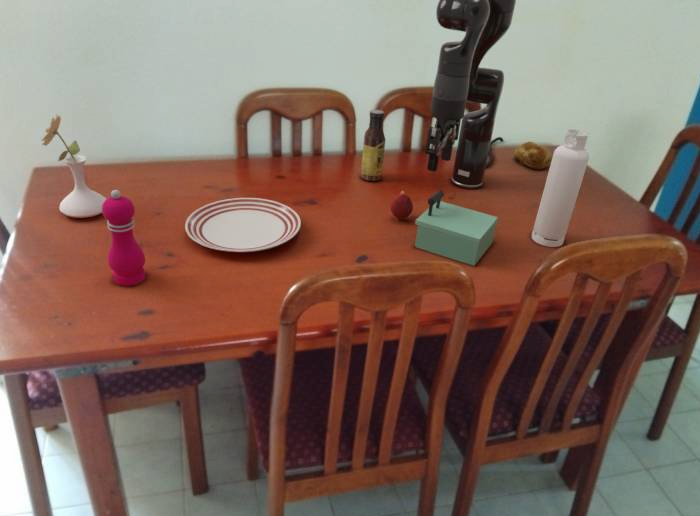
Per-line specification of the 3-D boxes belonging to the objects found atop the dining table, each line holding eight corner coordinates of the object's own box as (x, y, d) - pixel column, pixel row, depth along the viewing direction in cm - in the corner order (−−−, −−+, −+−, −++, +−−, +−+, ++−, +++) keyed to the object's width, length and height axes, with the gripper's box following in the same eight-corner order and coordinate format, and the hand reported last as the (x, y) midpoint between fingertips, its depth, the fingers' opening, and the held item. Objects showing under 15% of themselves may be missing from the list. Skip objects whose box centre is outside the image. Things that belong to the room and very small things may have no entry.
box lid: (414, 224, 143) (418, 202, 140) (436, 204, 153) (440, 183, 150) (479, 243, 137) (483, 221, 134) (497, 221, 147) (502, 200, 144)
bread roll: (506, 158, 202) (511, 135, 197) (528, 155, 206) (533, 132, 201) (532, 173, 192) (538, 149, 188) (554, 169, 197) (561, 145, 192)
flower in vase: (82, 198, 155) (62, 101, 141) (119, 207, 153) (103, 109, 139) (45, 219, 145) (20, 116, 131) (84, 229, 142) (63, 125, 128)
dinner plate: (204, 271, 130) (203, 258, 129) (173, 217, 150) (172, 205, 148) (319, 249, 142) (319, 237, 140) (276, 202, 162) (276, 190, 160)
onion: (414, 218, 159) (418, 190, 155) (406, 226, 155) (410, 198, 150) (393, 212, 161) (397, 185, 157) (385, 221, 157) (388, 192, 152)
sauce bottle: (379, 183, 177) (386, 116, 166) (358, 180, 178) (364, 113, 166) (382, 175, 182) (389, 109, 171) (362, 172, 183) (368, 107, 172)
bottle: (524, 236, 155) (552, 130, 139) (544, 229, 159) (573, 125, 144) (550, 250, 150) (582, 141, 134) (569, 242, 154) (602, 135, 138)
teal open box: (414, 247, 146) (418, 225, 143) (436, 226, 156) (439, 205, 153) (474, 266, 141) (479, 243, 137) (492, 242, 151) (497, 221, 148)
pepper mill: (116, 268, 129) (100, 181, 118) (150, 269, 130) (138, 183, 118) (107, 287, 123) (90, 197, 112) (144, 287, 124) (130, 198, 112)
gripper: (454, 105, 124) (442, 178, 133) (477, 91, 135) (464, 160, 144) (421, 98, 127) (411, 170, 136) (446, 84, 138) (435, 152, 147)
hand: (438, 165), depth 140 cm, fingers open, 8 cm apart
